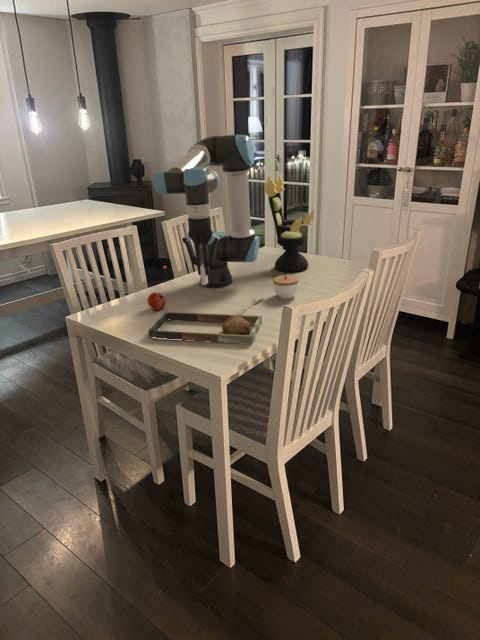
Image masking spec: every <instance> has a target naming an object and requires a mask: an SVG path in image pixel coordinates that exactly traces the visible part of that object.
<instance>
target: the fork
mask: <svg viewBox="0 0 480 640" xmlns="http://www.w3.org/2000/svg"><path fill="white" fill-rule="evenodd" d="M260 300H265V298H264V297H254V298H252V303H251V304H250V305H248V306H246V307H244V308H242V309H240V310H239V311H237V312H236V313H234V315H243V314H244V313H245V312H246V311H247V310H248V309H249V308H251V307H252V306H253V305H255V304H256V303H257V302H259V301H260Z"/></svg>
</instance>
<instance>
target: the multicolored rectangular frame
mask: <svg viewBox="0 0 480 640" xmlns="http://www.w3.org/2000/svg"><path fill="white" fill-rule="evenodd" d="M233 316H239V317H242V318H244V319H245V320H246V321H248V322H249V324H250V325H253V327H252V328H251V330H250V333H249V334H248V335H233V334H223V333H211V332H210V333H209V332H208V333H207V332H189V331H170V330H167V331H166V330H159V331H158V329H159V328H160V327H161V326H162V325H163V324H164V323H165V322H166V321H167V320H168V319H170V320H168V321H173V320H182V321H181V322H196V321H199V323H202V322H203V323H221V324H222V323H223V324H224V323H225V321H226V320H227V319H229V318H230V317H233ZM262 317H263V316H262V315H247V314H241V315H235V314H225V313H224V314H223V313H221V314H220V313H197V312H195V313H194V312H172V311H169V312H168V311H167V312H165V313H163V315H162V316H161V317H160V318H158V320H157V321H156V322H155V323H154V324H153V325H152V326H151V328H149V329H148V336H149V337H150V336H151V337H156V338H167V339H182V340H194V341H210V342H209V343H212V342H227V343H226V344H231V343H239V344H238V345H249V344H252V345H253V344H254V342H255V339H256V337H257V336H258V333H259V331H260V328H261V326H262V324H263V318H262ZM168 321H167V322H168ZM167 322H166V323H167ZM166 323H165V324H166ZM165 324H164V325H165ZM194 341H193V342H194Z"/></svg>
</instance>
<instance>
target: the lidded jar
mask: <svg viewBox="0 0 480 640" xmlns="http://www.w3.org/2000/svg"><path fill="white" fill-rule="evenodd" d="M299 281H300V280H299V277H297V276H295V275H292V274H291V275H290V274H284V275H277V276H275V277H274V278H273V279H272V282H273V290H274V292H275V294H276V296H278V297H279V299H283V300H287V299H292V298H293V297H294V296H296V294H297V292H298V289H299Z"/></svg>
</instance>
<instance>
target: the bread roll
mask: <svg viewBox="0 0 480 640" xmlns="http://www.w3.org/2000/svg"><path fill="white" fill-rule="evenodd" d="M221 330H222V334H233V335H250V333H251V331H252V328H251V324H249V322H248V321H246V320H245V319H244V318H242V317H239V316H233V317H230V318H229V319H227V320H226V321H225V323H223V324H222V327H221Z"/></svg>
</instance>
